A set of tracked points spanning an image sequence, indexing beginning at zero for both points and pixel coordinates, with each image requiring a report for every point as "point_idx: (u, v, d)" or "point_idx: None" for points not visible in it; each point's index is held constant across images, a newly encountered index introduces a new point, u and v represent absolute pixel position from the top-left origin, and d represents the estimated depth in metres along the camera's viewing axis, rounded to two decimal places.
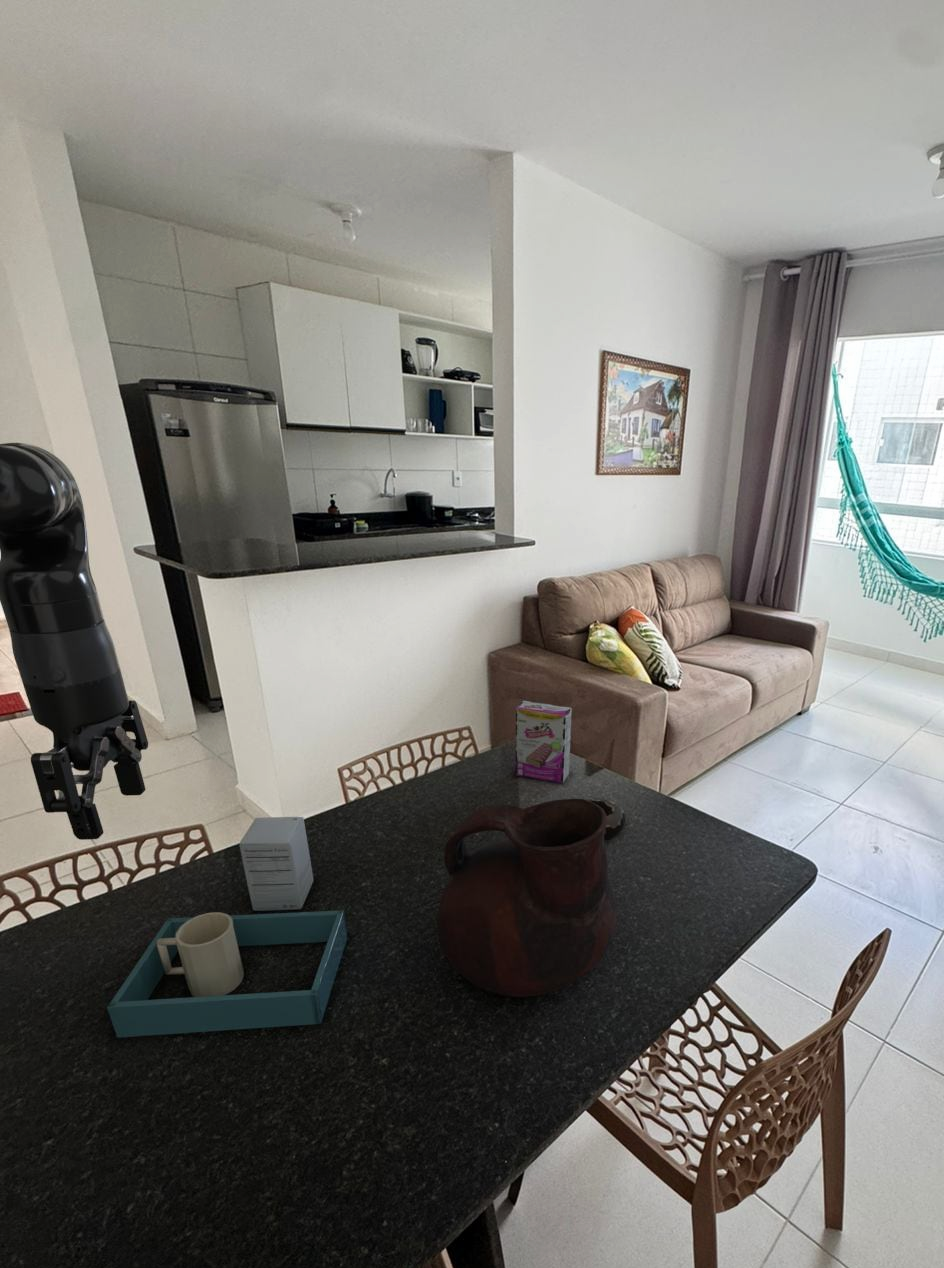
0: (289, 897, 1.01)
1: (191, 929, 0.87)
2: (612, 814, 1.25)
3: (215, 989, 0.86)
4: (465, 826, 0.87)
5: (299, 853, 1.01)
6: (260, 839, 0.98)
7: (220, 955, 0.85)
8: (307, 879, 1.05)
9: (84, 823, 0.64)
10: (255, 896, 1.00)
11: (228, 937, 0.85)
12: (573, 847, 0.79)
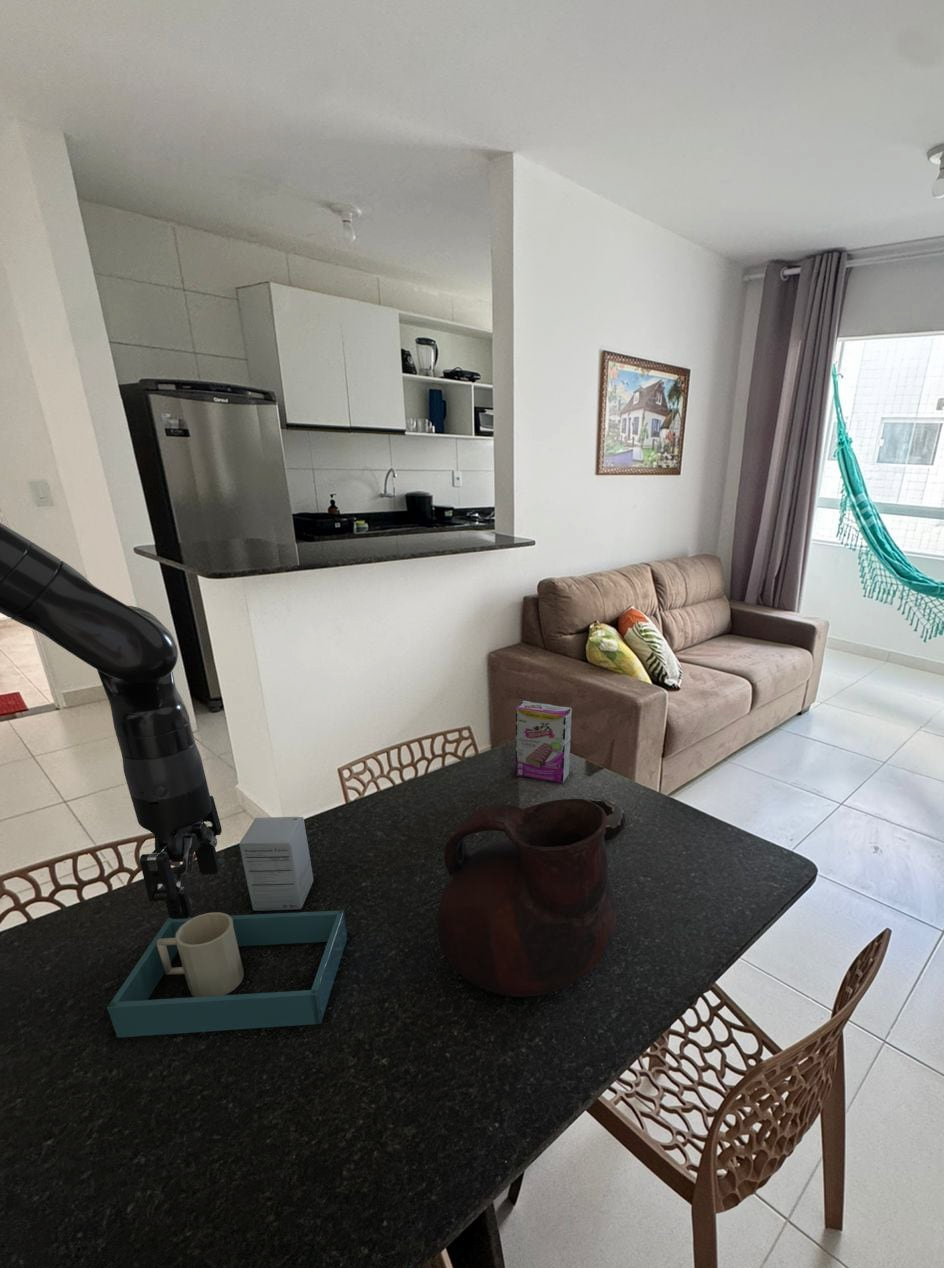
0: (289, 897, 1.01)
1: (191, 929, 0.87)
2: (612, 814, 1.25)
3: (215, 989, 0.86)
4: (465, 826, 0.87)
5: (299, 853, 1.01)
6: (260, 839, 0.98)
7: (220, 955, 0.85)
8: (307, 879, 1.05)
9: (178, 907, 0.77)
10: (255, 896, 1.00)
11: (228, 937, 0.85)
12: (573, 847, 0.79)
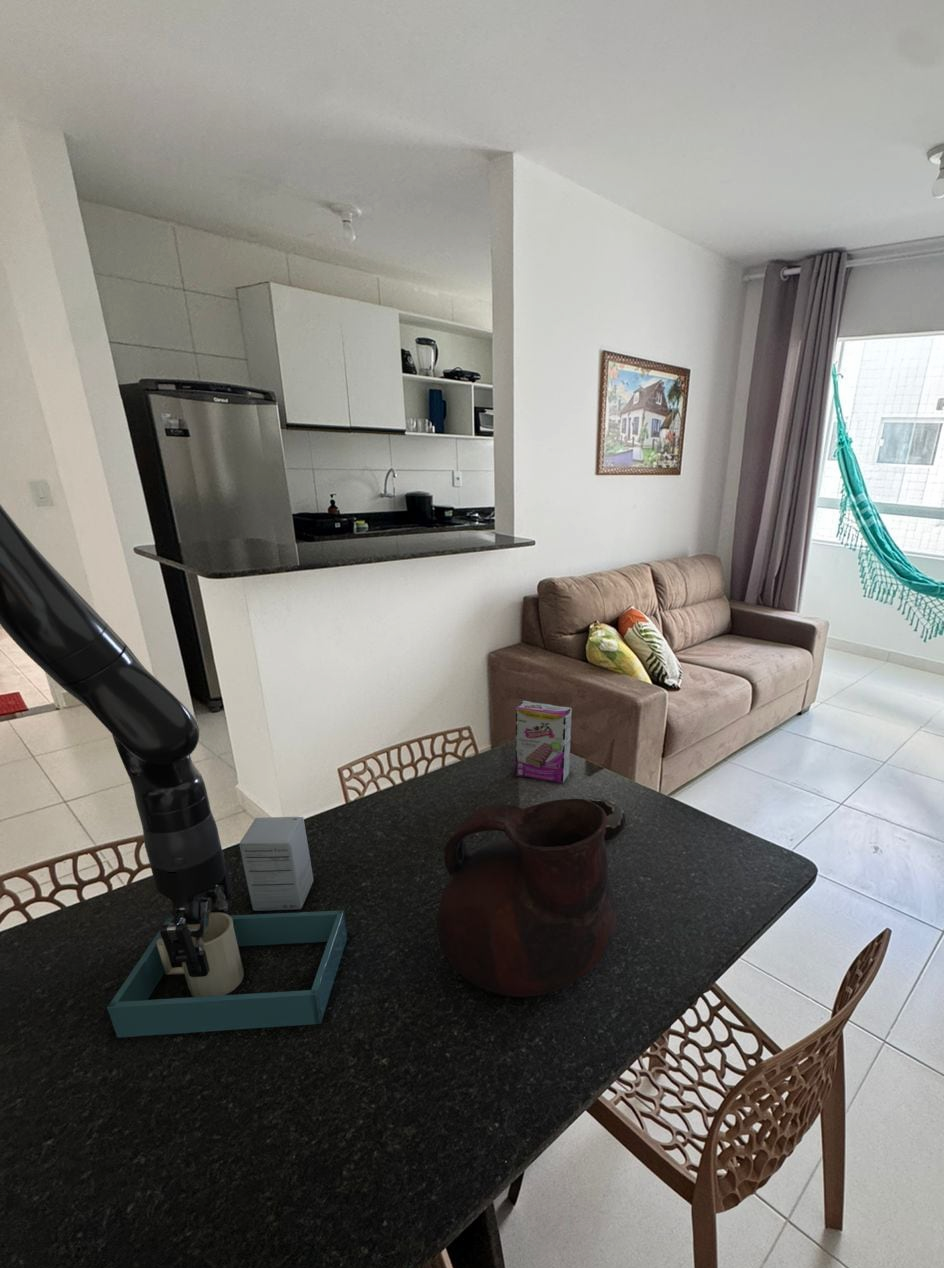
0: (289, 897, 1.01)
1: None
2: (612, 814, 1.25)
3: (215, 989, 0.86)
4: (465, 826, 0.87)
5: (299, 853, 1.01)
6: (260, 839, 0.98)
7: (220, 955, 0.85)
8: (307, 879, 1.05)
9: (197, 966, 0.82)
10: (255, 896, 1.00)
11: (228, 937, 0.85)
12: (573, 847, 0.79)
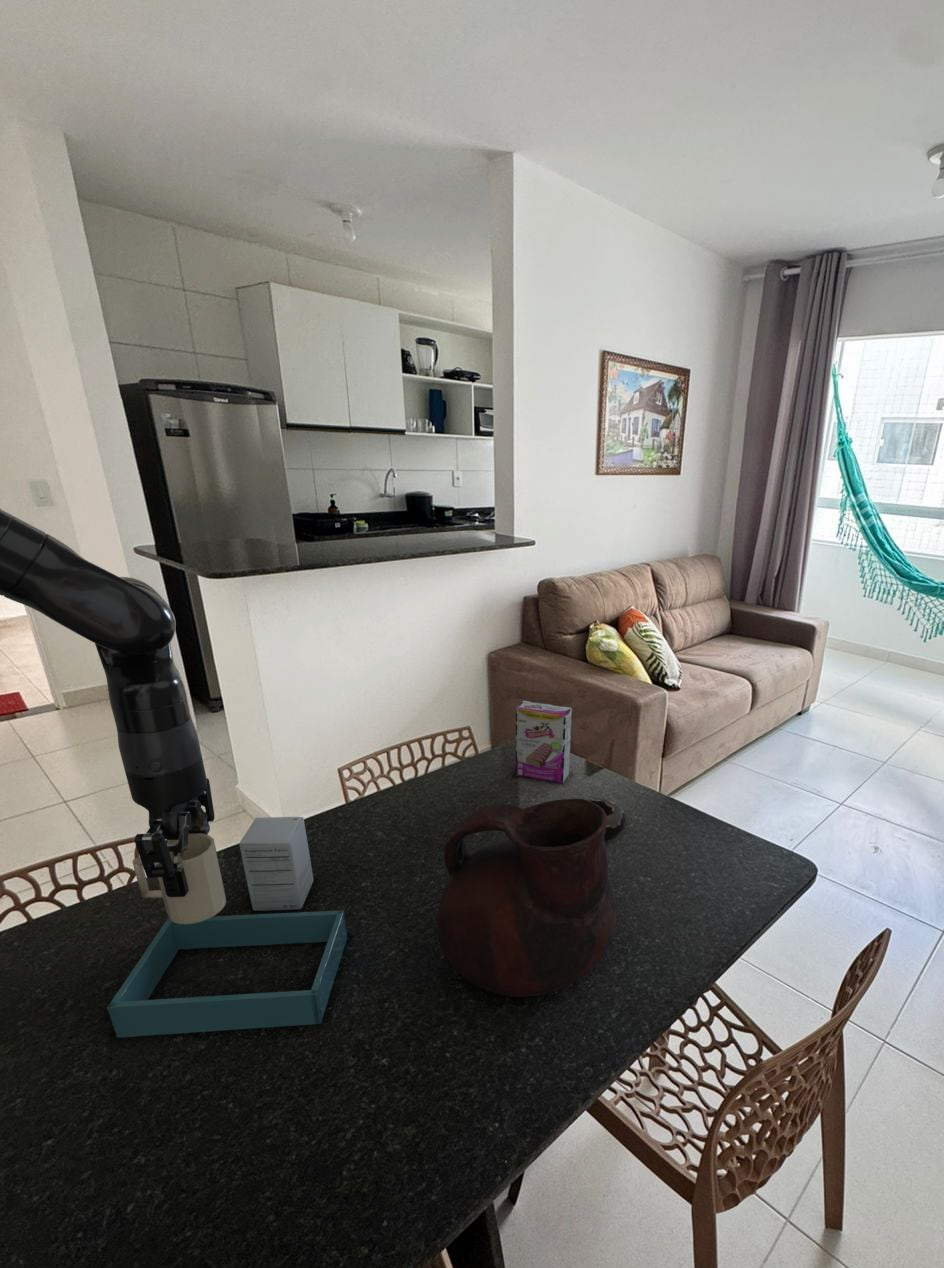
0: (289, 897, 1.01)
1: None
2: (612, 814, 1.25)
3: (195, 912, 0.81)
4: (465, 826, 0.87)
5: (299, 853, 1.01)
6: (260, 839, 0.98)
7: (200, 875, 0.80)
8: (307, 879, 1.05)
9: (175, 884, 0.77)
10: (255, 896, 1.00)
11: (209, 857, 0.80)
12: (573, 847, 0.79)
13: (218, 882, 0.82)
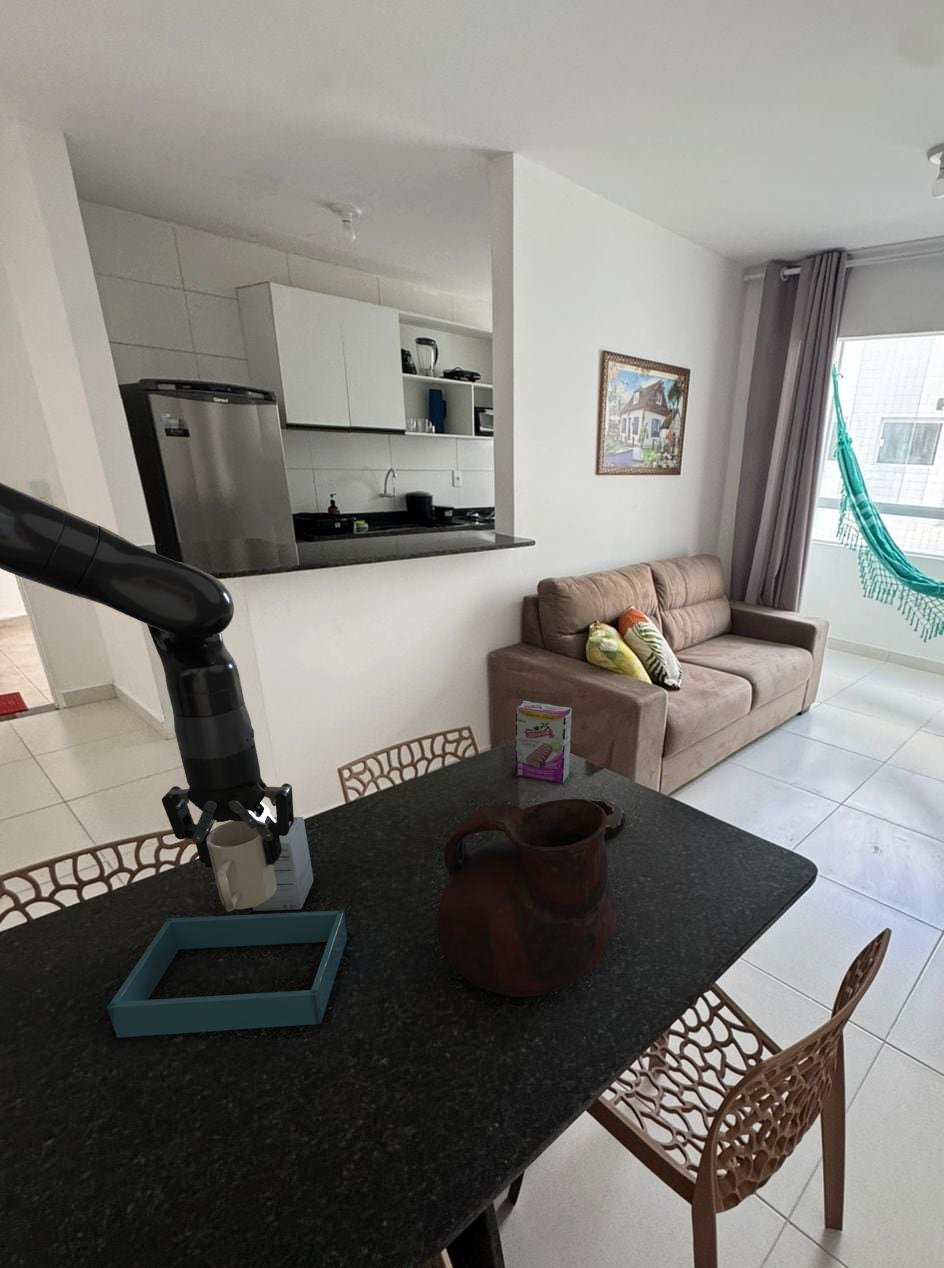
0: (289, 897, 1.01)
1: None
2: (612, 814, 1.25)
3: None
4: (465, 826, 0.87)
5: (299, 853, 1.01)
6: None
7: None
8: (307, 879, 1.05)
9: (279, 843, 0.82)
10: None
11: None
12: (573, 847, 0.79)
13: None
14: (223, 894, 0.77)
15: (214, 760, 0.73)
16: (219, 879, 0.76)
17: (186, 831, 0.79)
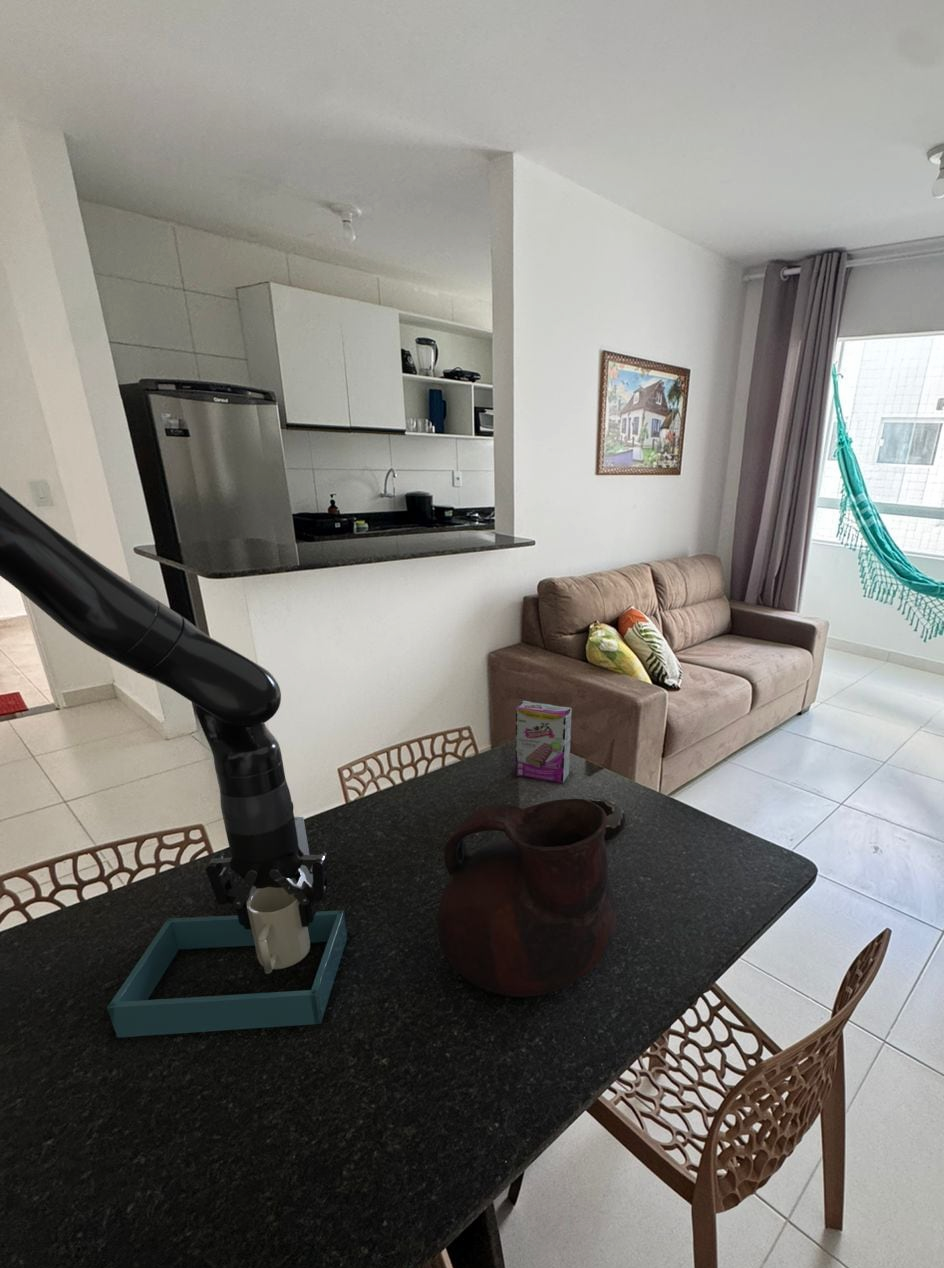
0: None
1: None
2: (612, 814, 1.25)
3: None
4: (465, 826, 0.87)
5: None
6: None
7: None
8: (307, 879, 1.05)
9: (314, 905, 0.87)
10: None
11: None
12: (573, 847, 0.79)
13: None
14: (263, 958, 0.81)
15: (258, 835, 0.77)
16: (260, 944, 0.81)
17: (227, 897, 0.83)
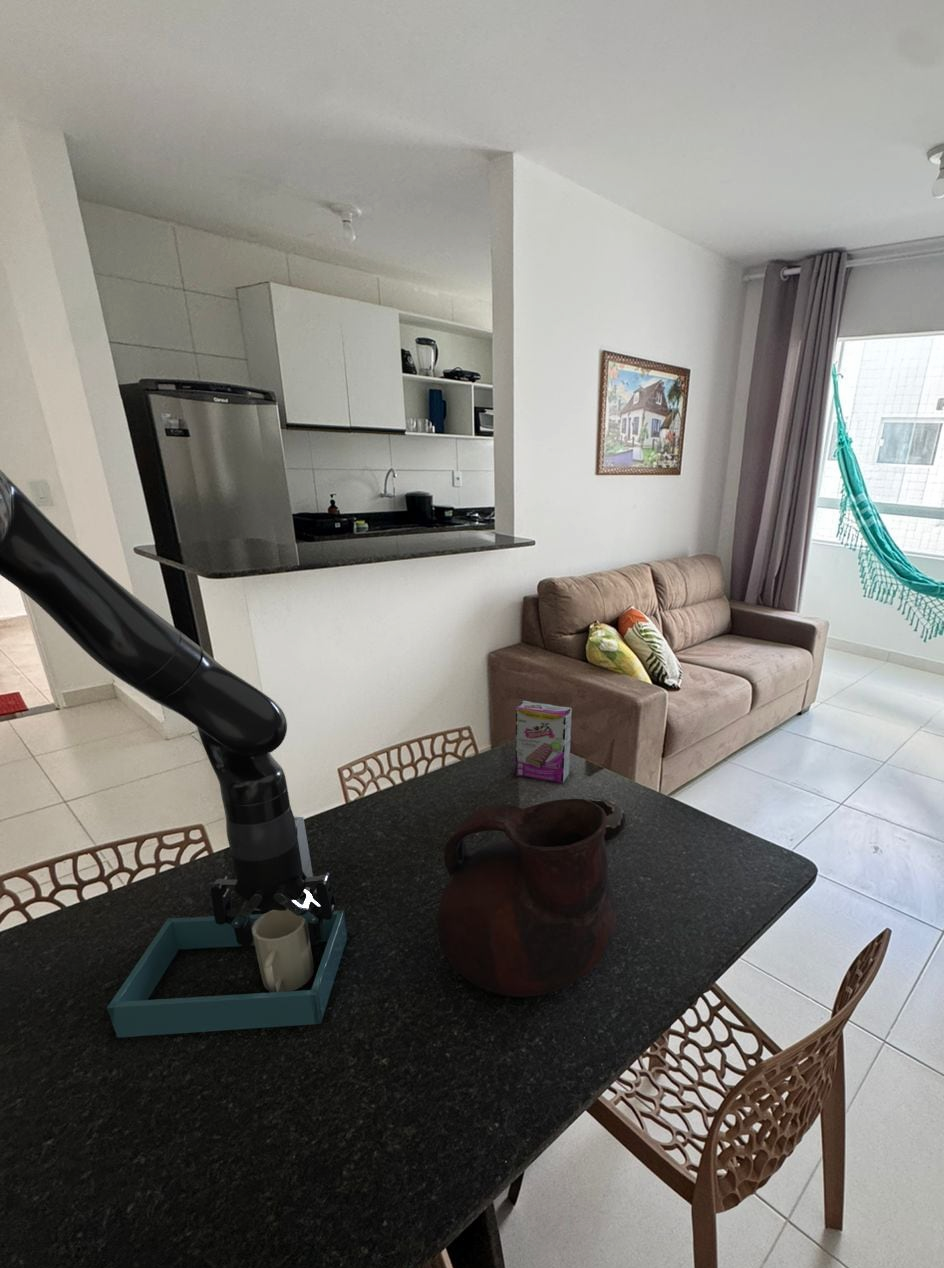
0: None
1: None
2: (612, 814, 1.25)
3: None
4: (465, 826, 0.87)
5: None
6: None
7: None
8: None
9: (322, 924, 0.89)
10: None
11: None
12: (573, 847, 0.79)
13: None
14: (268, 984, 0.83)
15: (263, 861, 0.79)
16: (265, 971, 0.82)
17: (225, 917, 0.85)
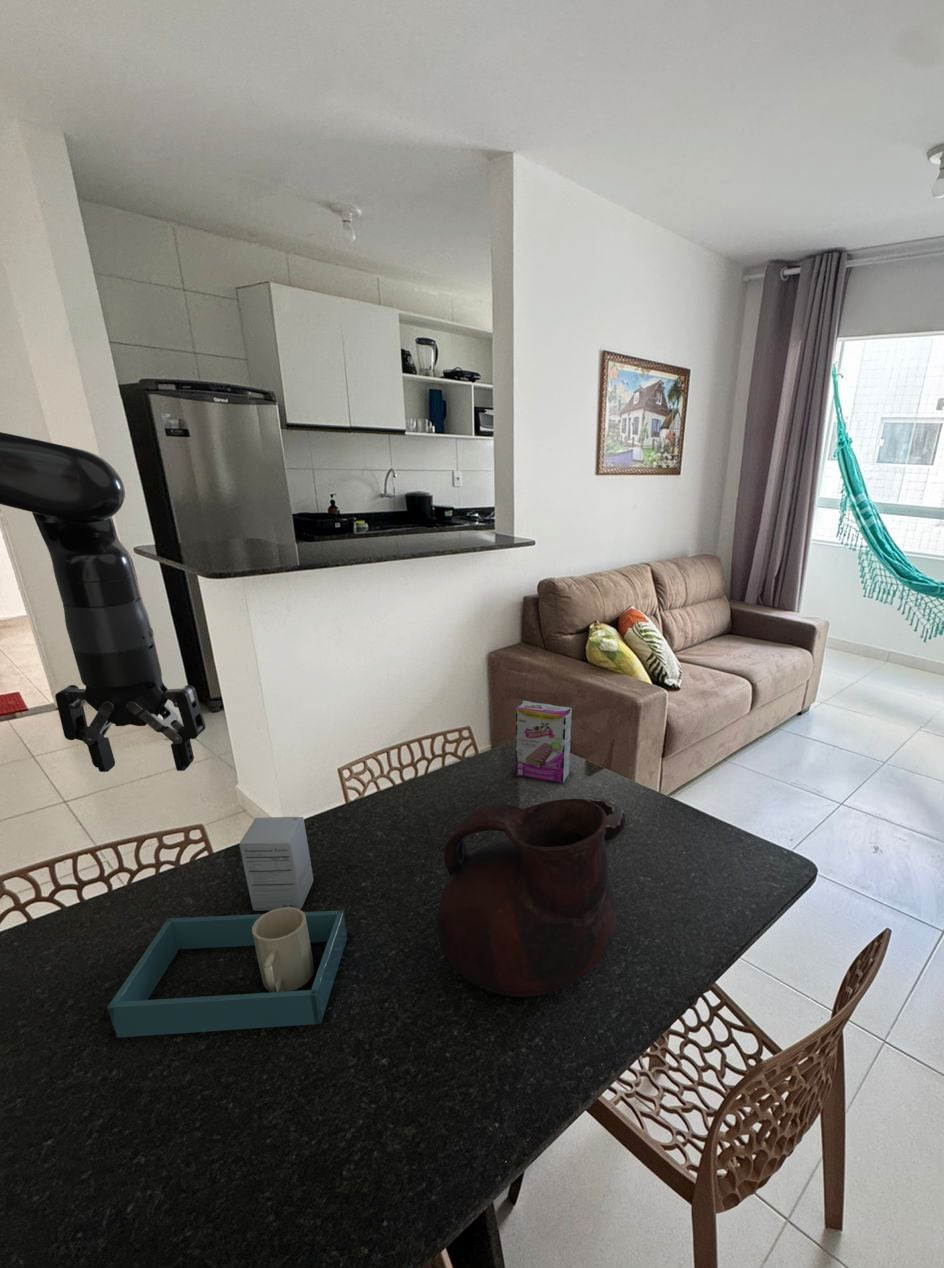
0: (289, 897, 1.01)
1: None
2: (612, 814, 1.25)
3: None
4: (465, 826, 0.87)
5: (299, 853, 1.01)
6: (260, 839, 0.98)
7: None
8: (307, 879, 1.05)
9: (191, 749, 0.80)
10: (255, 896, 1.00)
11: None
12: (573, 847, 0.79)
13: None
14: (268, 984, 0.83)
15: (106, 655, 0.71)
16: (265, 971, 0.82)
17: (77, 732, 0.77)
